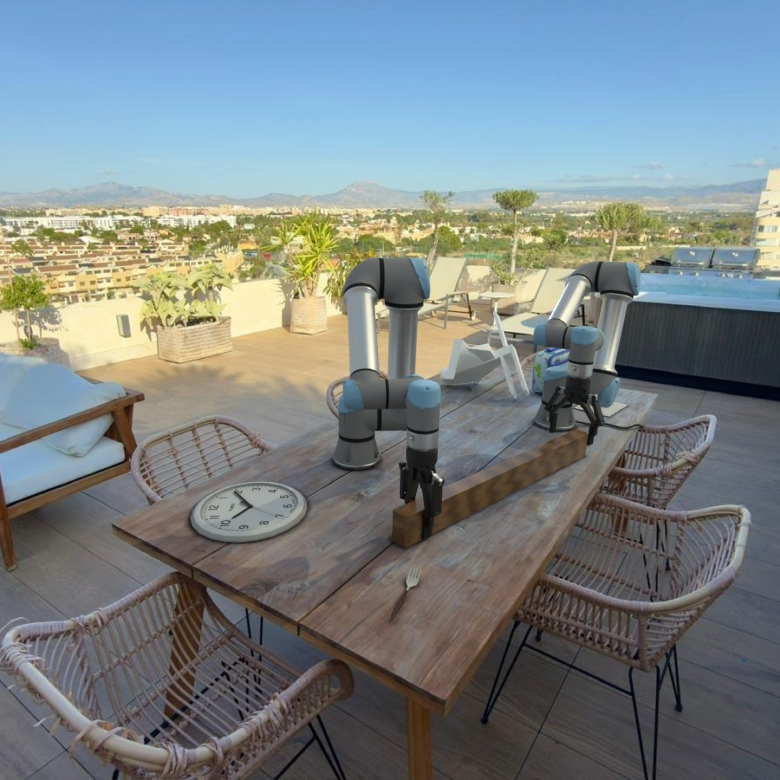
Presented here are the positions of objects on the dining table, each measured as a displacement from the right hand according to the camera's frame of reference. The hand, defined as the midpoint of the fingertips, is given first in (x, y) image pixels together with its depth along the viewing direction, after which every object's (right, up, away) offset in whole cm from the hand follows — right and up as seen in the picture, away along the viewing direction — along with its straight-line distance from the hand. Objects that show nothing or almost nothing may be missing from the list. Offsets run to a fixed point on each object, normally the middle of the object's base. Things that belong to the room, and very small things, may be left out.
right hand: (570, 438), depth 171 cm
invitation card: (+32, +8, +55) cm, 64 cm away
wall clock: (-97, -16, -32) cm, 103 cm away
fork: (-56, -27, -63) cm, 89 cm away
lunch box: (+18, +15, +76) cm, 79 cm away
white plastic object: (-18, +15, +72) cm, 75 cm away
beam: (-26, -14, -19) cm, 35 cm away
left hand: (-52, -19, -41) cm, 69 cm away
